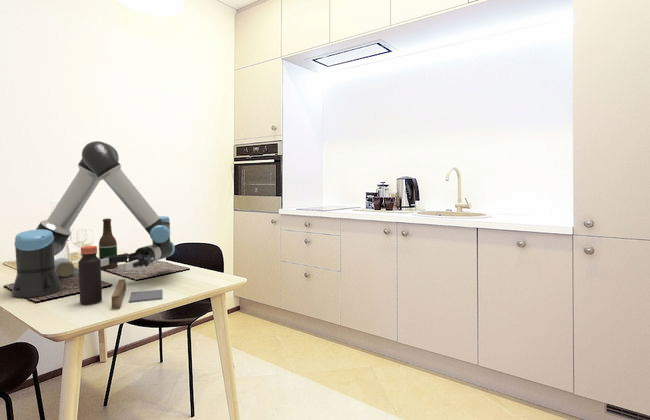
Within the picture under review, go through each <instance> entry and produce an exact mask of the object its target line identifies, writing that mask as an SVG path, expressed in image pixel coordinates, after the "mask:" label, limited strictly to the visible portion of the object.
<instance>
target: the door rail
mask: <svg viewBox="0 0 650 420" xmlns="http://www.w3.org/2000/svg"><path fill="white" fill-rule="evenodd" d="M126 291H127V279H126V278H125V279H124V278H123V279H118V281H117V283H116V285H115V288H114V289H113V292H112V294H111V310H118V309H119V310H120V309H121V307H122V306H121V305H122V304H123V300H124V297H125V294H126V293H127V292H126Z"/></svg>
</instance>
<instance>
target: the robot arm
mask: <svg viewBox="0 0 650 420" xmlns="http://www.w3.org/2000/svg"><path fill="white" fill-rule="evenodd" d="M119 161H120V159H119V153H118V151H117V149H116V148H115V147H113V146H112V145H111V144H108V143H107V142H103V141H100V140H98V141H97V140H96V141H91V142H88V143H87V144H86V145H85V146H84V147H83V149H82V151H81V160H79V162H78V164H77V166H78V169H79V170H78V171H77V173H76V174H75V176H74V178H73V179H72V180H71V182H70V184H69V186H68V187H67V189H66V190H65V192H64V193H63V195H62V196H61V198H60V199H59V201H58V203H57V204H56V205H55V207H54V209H53V210H52V212H51V213H50V215H49V216H48V217H47V219H45V220H41V221H40V223H38V226H37V227H36V229H29V230H26V231H25V230H24V231H21V232H19V233H17V234H16V235H15V237H14V249H15V262H16V263H15V264H16V265H15V266H16V277H15V280H14V282H13V285H12V288H11V295H12V297H14V298H22V299H23V298H24V299H25V298H37V297H36V296H38V297H43V295H44V296H47V294H48V295H51V293H52V294H55V293H57V292H59V291H60V290H62V283H61V281H60V278H59V276H58V275H57V274H56V271H55V262H54V261H55V256H56V255H58V254H60V253H61V252H62V251H63V250H64V248H65V247H66V244H67V241H68V239H69V237H70V236H71V234H72V232H71V227H72V226H73V224H74V223H75V221H76V219H77V218H78V216H79V214H80V213H81V212H82V210H83V208H84V207H85V205H86V203H87V202H88V201H89V199H90V198H91V196H92V194H93V192H95V189H96V188H97V186H98V185H99V183H100V182H101V181H104V183H106V184H107V185H108V187H109V188H110V189H111V190H112V191H113V193H114V194H115V196H117V197H118V198H119V200H120V201H121V203H122V204H123V205H124V206H125V207H126V208H127V209H128V211H129V212H130V214H132V215H133V217H135V219H136V220H137V222H138V223H140V225H141V226H142V227H143V228H144V230H145V231H146V232H147V234H148V235H149V237H150V239H151V241H152V244H148V245H145V246H142V247H138V248H137V249H136V250H134V252H131V253H127V252H125V253H122V254H117V255H113V256H106V257H103V259H101V260H100V261H101V267H102V266H108V265H109V264H111V263H117V264H119V263H124V268H125V269H124V271H130V270H133V269H136V268H139V267H140V268H141V267H148V266H149V265H151V264H154V262H157V261H160V260H163V259H166V258H168V257H171V256H172V255H174V253H175V250H176V247H175V243H173V241H171V221H170V217H169V216H165V215H160V216H159V215H158V214H157V212H156V211H155V210H154V209H153V208H152V205H150V203H148V202H147V200H146V198H145V197H144V196H143V194H141V192H140V191H139V190H138V189H137V187H136V186H135V185H134V184H133V182H132V181H131V179H129V177H128V176H127V175H126V174H125V172H124V171H123V170H122V165H121V163H120V162H119ZM54 292H55V293H54Z"/></svg>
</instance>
